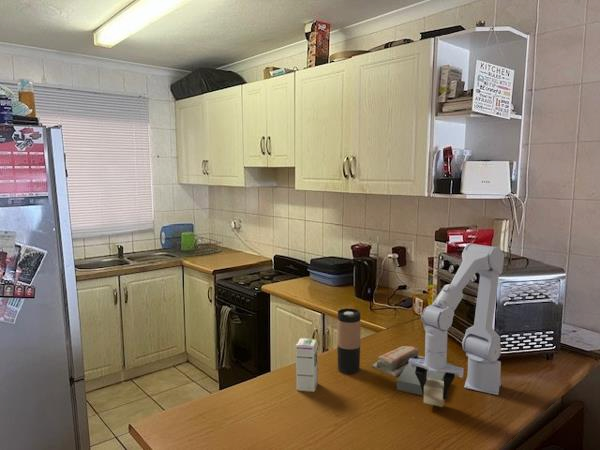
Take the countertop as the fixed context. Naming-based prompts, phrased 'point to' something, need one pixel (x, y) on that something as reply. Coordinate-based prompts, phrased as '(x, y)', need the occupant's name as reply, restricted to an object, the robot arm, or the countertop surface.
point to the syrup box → (306, 365)
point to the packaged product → (396, 360)
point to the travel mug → (348, 341)
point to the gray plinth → (415, 380)
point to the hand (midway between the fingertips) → (434, 395)
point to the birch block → (434, 392)
